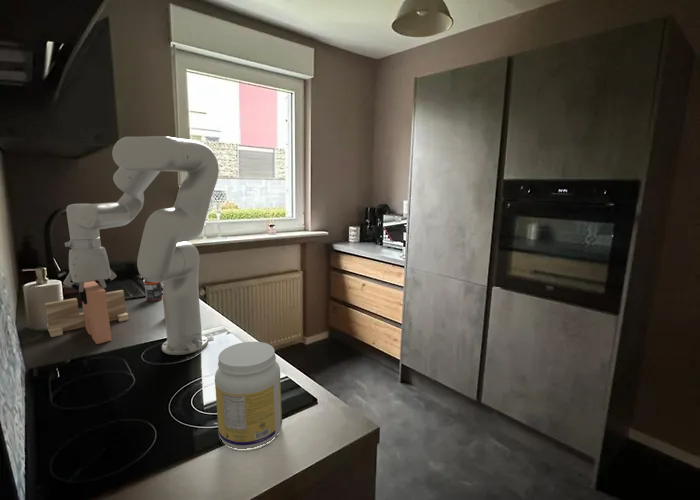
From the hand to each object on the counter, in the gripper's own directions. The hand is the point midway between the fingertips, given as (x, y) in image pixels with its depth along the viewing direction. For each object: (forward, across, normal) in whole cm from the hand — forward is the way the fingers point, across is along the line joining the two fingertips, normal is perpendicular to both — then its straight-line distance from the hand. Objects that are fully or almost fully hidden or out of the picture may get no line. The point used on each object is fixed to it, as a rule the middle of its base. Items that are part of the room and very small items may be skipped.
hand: (93, 300), depth 120 cm
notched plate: (+11, 0, 0) cm, 11 cm away
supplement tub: (+12, +11, -77) cm, 78 cm away
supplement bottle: (+12, +25, +26) cm, 38 cm away
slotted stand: (+11, 0, +12) cm, 17 cm away
